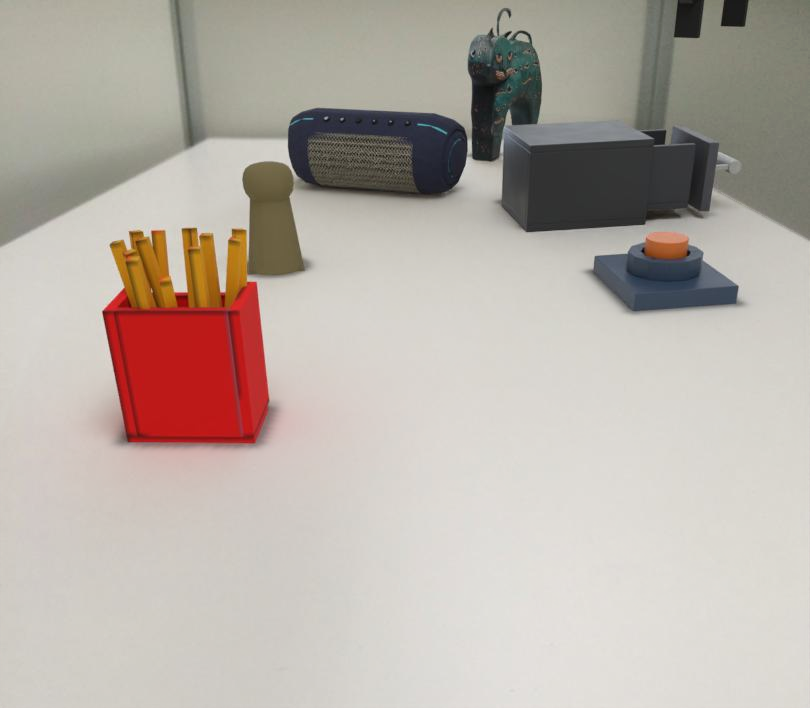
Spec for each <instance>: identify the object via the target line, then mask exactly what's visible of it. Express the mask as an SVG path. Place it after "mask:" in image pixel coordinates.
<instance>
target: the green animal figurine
mask: <svg viewBox="0 0 810 708" xmlns="http://www.w3.org/2000/svg"><path fill="white" fill-rule="evenodd" d="M504 12H506V13H507V16H508V18H509V19H511V17H512V9H510V8H509V7H503V8H501V9H500V11H499V12H498V14H497V18H496V22H497V23H496V35H495V33H494V27H493V26H492V27H491V28H490V30H489V31H488V33H487V34H477V35H476V36H474V38H473V39H472V41H471V43H470V44H469V49H468V55H467V73H468V75H469V78H470V80H471V105H470V117H471V119H470V121H471V158H472V160H475V161H485V162H493V161H495V160H497V159H499V158H500V154H501V146H502V141H503V135H504V126H506V120H507V115H508V112H509V113H510V119H511V125H530V124H539V119H540V112H541V106H542V95H543V80H542V72H541V71H542V70H541V64H540V59H539V55H538V53H537V50H536V48H535V47H534V46H533V39H532V35H531V34H530V32H528V31H527V30H521V29H520V30H517V31H515V32H514V33H513V34H512V31H513V30H508V31H506V32H504V33H502V34H500V21H501V18H502V15H503V14H504ZM511 34H512V35H511ZM519 34H523V35H525V36H527V39H528V41H523V40H518V39H517V37H518V35H519ZM510 35H511V36H510ZM509 36H510V37H509ZM508 37H509V39H508Z"/></svg>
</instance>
